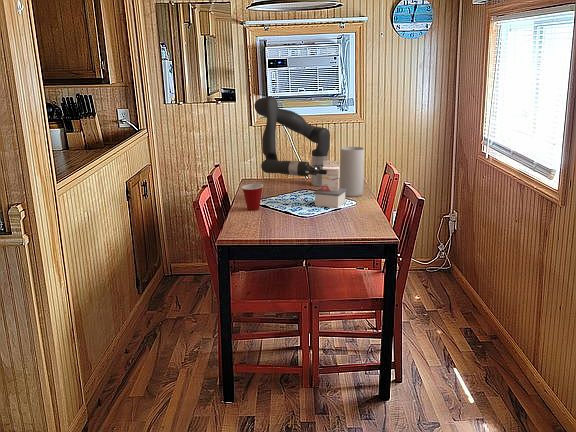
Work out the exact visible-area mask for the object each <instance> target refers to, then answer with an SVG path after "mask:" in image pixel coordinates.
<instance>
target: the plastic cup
mask: <svg viewBox="0 0 576 432" xmlns="http://www.w3.org/2000/svg"><path fill="white" fill-rule="evenodd" d="M263 187H264V184H262V183H249V184H245V185H241V190H242V191H243V195H244V199H245V203H246V207H247V210H248V211H252V212H255V211H258V210H260V205H261V200H262V195H263V194H262V193H263Z"/></svg>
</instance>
